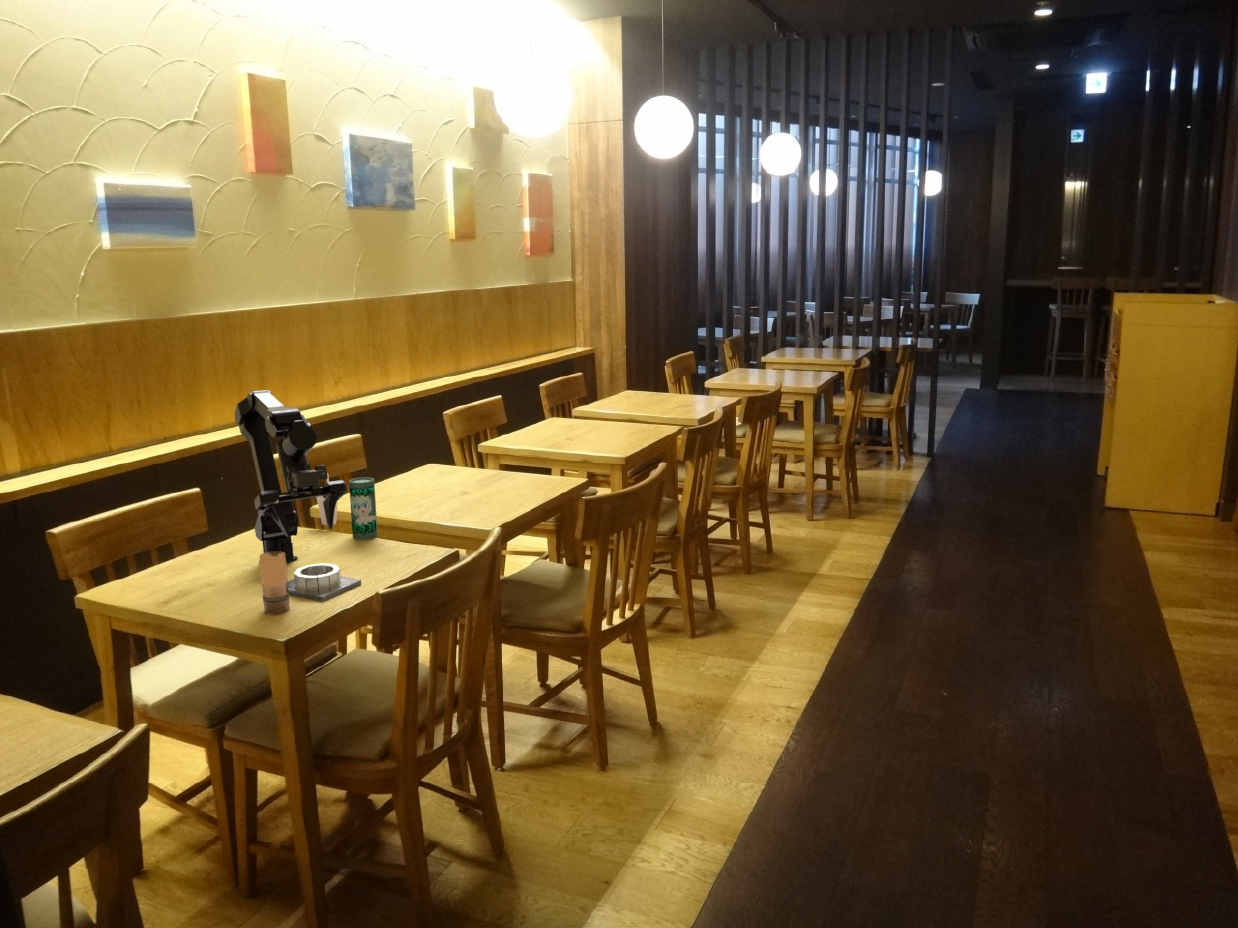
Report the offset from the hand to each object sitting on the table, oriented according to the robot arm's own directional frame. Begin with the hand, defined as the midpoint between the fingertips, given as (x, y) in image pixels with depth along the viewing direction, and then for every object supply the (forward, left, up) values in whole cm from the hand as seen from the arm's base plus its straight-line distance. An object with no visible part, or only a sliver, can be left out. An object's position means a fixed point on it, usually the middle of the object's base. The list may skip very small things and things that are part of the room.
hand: (309, 532), depth 210 cm
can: (-18, +38, -14) cm, 44 cm away
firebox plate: (-1, +3, -13) cm, 14 cm away
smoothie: (-35, +43, -14) cm, 57 cm away
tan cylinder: (+1, -11, -14) cm, 18 cm away
